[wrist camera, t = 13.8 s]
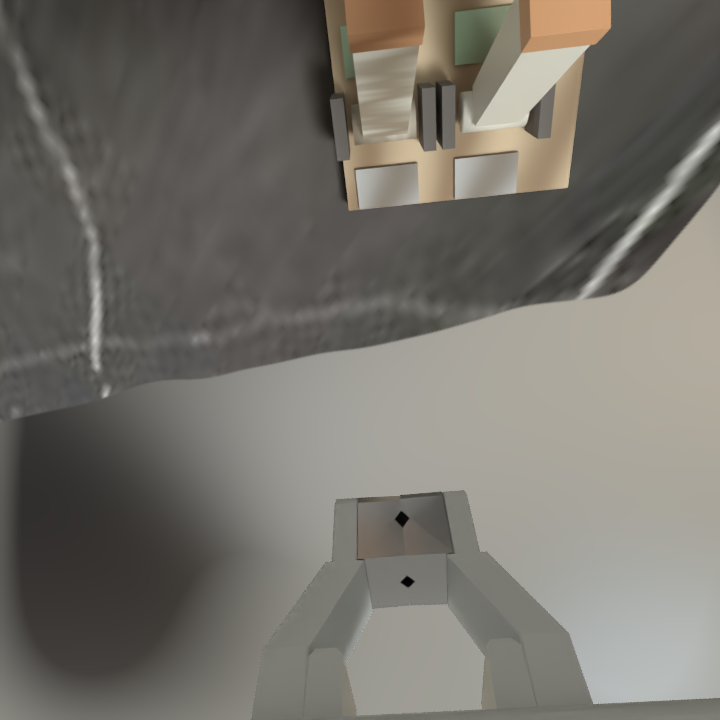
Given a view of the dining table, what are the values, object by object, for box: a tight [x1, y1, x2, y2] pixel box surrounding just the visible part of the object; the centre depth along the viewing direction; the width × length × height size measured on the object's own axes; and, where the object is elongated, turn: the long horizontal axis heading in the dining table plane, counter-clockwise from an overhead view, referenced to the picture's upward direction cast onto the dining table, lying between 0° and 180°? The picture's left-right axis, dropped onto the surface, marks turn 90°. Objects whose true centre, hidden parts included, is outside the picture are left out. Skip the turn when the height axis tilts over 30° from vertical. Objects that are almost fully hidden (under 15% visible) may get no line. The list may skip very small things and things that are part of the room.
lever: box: [458, 0, 611, 133], centre depth 26 cm, size 4×3×15 cm, turn 96°
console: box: [324, 0, 585, 211], centre depth 28 cm, size 16×14×16 cm
